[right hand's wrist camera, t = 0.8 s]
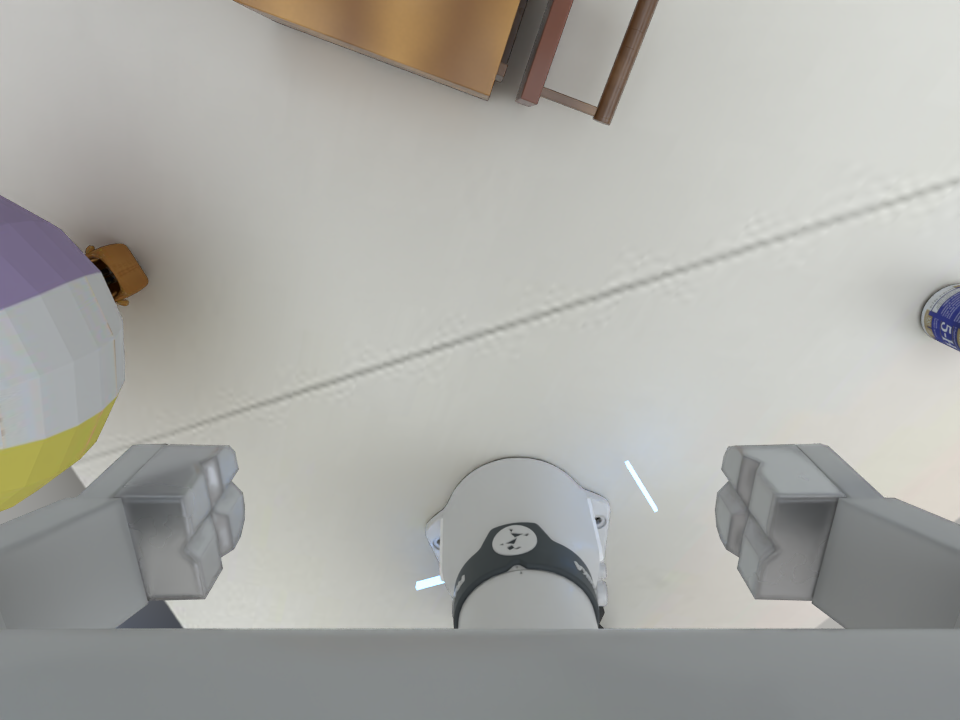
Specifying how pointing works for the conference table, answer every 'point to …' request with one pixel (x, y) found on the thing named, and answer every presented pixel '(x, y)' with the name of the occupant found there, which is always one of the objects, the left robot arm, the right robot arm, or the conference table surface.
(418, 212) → the conference table surface
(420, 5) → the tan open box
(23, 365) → the toy
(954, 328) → the pill bottle
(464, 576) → the right robot arm
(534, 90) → the drawer
